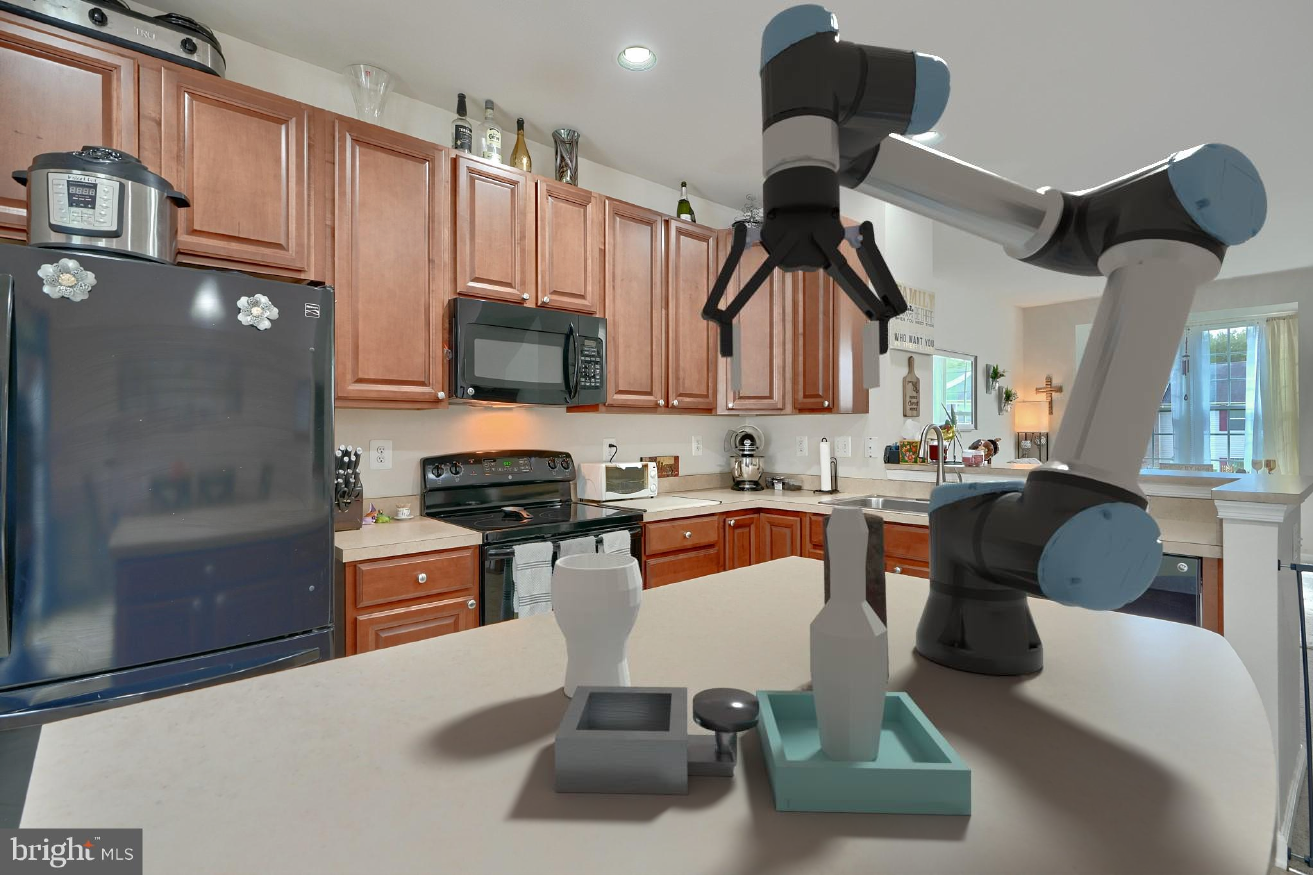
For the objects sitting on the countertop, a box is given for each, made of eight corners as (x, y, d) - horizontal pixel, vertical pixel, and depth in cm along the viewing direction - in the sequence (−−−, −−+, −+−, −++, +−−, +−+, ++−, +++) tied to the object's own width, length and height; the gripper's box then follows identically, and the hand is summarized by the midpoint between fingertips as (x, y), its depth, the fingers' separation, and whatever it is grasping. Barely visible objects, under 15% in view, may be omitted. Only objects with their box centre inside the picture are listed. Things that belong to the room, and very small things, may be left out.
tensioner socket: (753, 733, 64) (752, 678, 64) (766, 796, 53) (766, 729, 53) (577, 730, 64) (577, 675, 64) (555, 791, 53) (554, 725, 53)
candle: (820, 683, 76) (819, 514, 76) (826, 662, 83) (825, 507, 83) (888, 691, 74) (888, 517, 73) (889, 669, 80) (888, 510, 80)
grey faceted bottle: (798, 746, 59) (796, 506, 59) (848, 729, 62) (846, 502, 62) (850, 778, 53) (848, 513, 53) (902, 758, 56) (900, 508, 56)
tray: (905, 726, 65) (905, 692, 65) (971, 815, 50) (971, 770, 50) (756, 724, 66) (755, 690, 66) (776, 810, 51) (776, 766, 51)
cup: (630, 712, 69) (629, 572, 69) (537, 704, 71) (536, 568, 71) (651, 675, 79) (650, 553, 79) (569, 669, 81) (568, 550, 81)
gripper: (909, 189, 68) (912, 389, 68) (674, 193, 68) (678, 393, 68) (941, 159, 61) (944, 384, 61) (677, 163, 60) (681, 388, 61)
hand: (803, 389), depth 65 cm, fingers open, 13 cm apart
